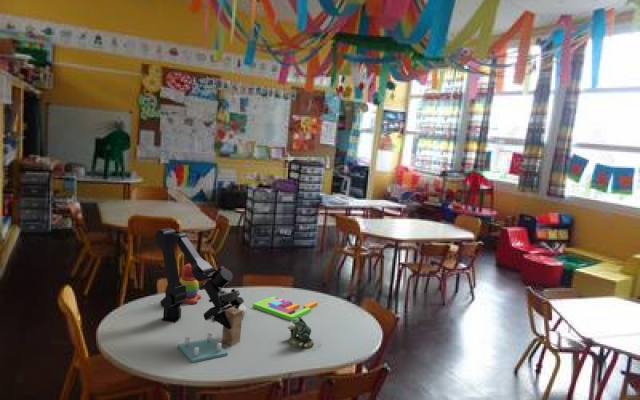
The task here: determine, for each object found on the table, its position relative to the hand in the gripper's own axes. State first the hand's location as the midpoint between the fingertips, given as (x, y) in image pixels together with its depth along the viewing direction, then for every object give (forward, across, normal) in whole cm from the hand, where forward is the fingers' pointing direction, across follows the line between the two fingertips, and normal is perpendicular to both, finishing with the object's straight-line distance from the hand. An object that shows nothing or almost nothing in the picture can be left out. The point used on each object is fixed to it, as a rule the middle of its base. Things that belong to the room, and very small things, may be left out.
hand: (234, 326), depth 200 cm
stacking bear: (-27, +21, +37) cm, 51 cm away
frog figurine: (+19, +18, -9) cm, 28 cm away
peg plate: (+2, -13, +8) cm, 15 cm away
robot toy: (-9, +20, +19) cm, 29 cm away
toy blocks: (+1, +48, +9) cm, 48 cm away
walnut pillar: (+4, 0, +6) cm, 7 cm away
